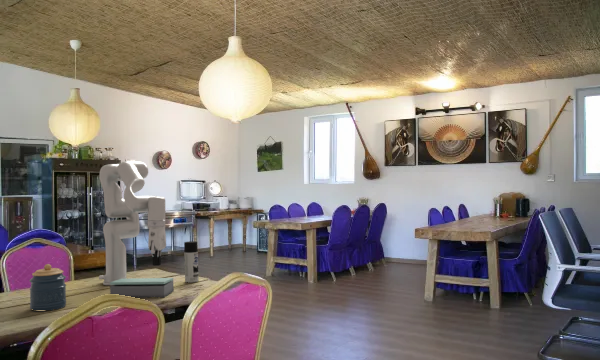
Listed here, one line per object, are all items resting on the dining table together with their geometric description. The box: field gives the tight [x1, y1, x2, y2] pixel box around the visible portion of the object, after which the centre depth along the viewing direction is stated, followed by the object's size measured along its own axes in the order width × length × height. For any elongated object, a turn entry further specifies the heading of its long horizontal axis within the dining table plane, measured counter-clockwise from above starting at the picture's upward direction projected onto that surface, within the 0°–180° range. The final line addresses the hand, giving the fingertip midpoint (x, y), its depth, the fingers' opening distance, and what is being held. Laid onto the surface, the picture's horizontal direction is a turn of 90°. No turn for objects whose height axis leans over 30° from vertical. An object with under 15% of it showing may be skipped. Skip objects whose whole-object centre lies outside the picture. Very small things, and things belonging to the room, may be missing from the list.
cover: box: [109, 277, 174, 286], centre depth 209 cm, size 24×12×1 cm, turn 87°
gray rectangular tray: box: [109, 280, 174, 299], centre depth 209 cm, size 24×12×5 cm, turn 87°
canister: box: [29, 263, 67, 311], centre depth 189 cm, size 13×13×18 cm
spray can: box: [183, 240, 200, 284], centre depth 236 cm, size 7×7×20 cm
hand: (156, 265), depth 209 cm, fingers closed
